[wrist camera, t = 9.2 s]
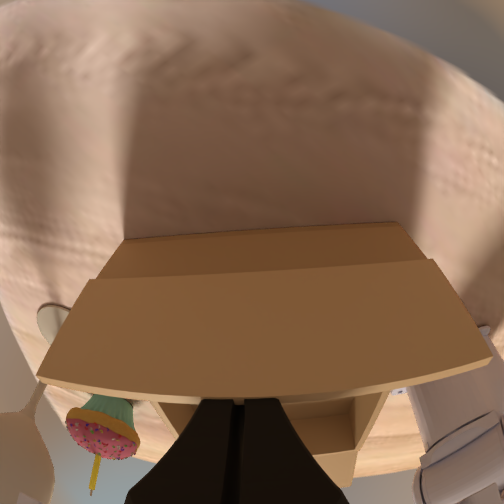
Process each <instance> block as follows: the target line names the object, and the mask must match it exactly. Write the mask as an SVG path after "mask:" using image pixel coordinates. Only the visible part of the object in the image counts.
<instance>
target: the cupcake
mask: <svg viewBox="0 0 504 504" xmlns="http://www.w3.org/2000/svg"><path fill="white" fill-rule="evenodd" d="M65 423H66V424H67V426H66V427H67V430H69V432H70V434H71V436H72V437H73V439H74V440H75V441H76V442H77V443H78V445H80V446H81V447H83V448H85V449H86V450H88V451H89V452H92V453H94V454H95V455H96V456H95V460H94V465H93V469H92V475H91V479H90V484H89V489H91V492H90V496H92V490H95V485H96V480H97V474H98V470H99V466H100V461H101V457H102V458H107V459H113V460H115V459H118V460H120V459H121V460H122V459H124V458H128V457H130V456H131V457H132V455H133V454H134V455H135V454H136V452H137V449H138V447H139V446H140V439H139V437H138V434H137V432H136V431H135V428H134V423H133V408H132V406H131V405H130V403H129V402H127V401H126V400H125V399H123V398H119V397H112V396H105V395H99V394H94V395H93V396H92V397H91V399H90V400H89V401H88V402H87V403H86V404H85V405H84V406H82V407H81V408H78V407H75V408H72V409H71V410H70V411H69V412H68V414H67V416H66V421H65Z"/></svg>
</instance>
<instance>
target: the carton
mask: <svg viewBox="0 0 504 504" xmlns="http://www.w3.org/2000/svg"><path fill="white" fill-rule="evenodd" d="M423 259H427V258H426V256H425V255H424V254H423V252H422V251H421V250H420V249H419V247H418V246H417V245H416V244H415V243H414V241H413V240H412V239H411V238H410V236H409V235H408V234H407V233H406V232H405V230H404V229H403V228H402V227H401V226H400V225H399V223H398V222H383V223H361V224H341V225H322V226H304V227H287V228H271V229H256V230H241V231H227V232H213V233H200V234H187V235H175V236H163V237H151V238H139V239H128V240H123V242H122V243H121V244H120V246H119V247H118V248H117V250H116V251H115V252H114V254H113V255H112V256H111V258H110V259H109V261H108V262H107V263H106V265H105V266H104V268H103V269H102V270H101V272H100V273H99V275H98V276H97V278H96V279H115V278H141V277H164V276H186V275H206V274H225V273H243V272H260V271H276V270H292V269H307V268H321V267H336V266H349V265H362V264H375V263H388V262H400V261H412V260H423ZM389 392H390V390H389V391H383V392H378V393H372V394H366V395H359V396H352V397H345V398H337V399H329V400H320V401H309V402H297V403H283V404H281V405H282V407H283V409H284V411H285V413H286V415H287V417H288V419H289V420H290V422H291V424H292V426H293V427H294V429H295V431H296V432H297V434H298V435H299V437H300V439H301V440H302V442H303V443H304V445H305V446H306V447H307V449H308V450H309V452H310V453H311V454H312V456H313V457H318V456H327V455H334V454H342V453H348V452H354V451H360V449H361V447H362V446H363V444H364V442H365V440H366V438H367V437H368V435H369V433H370V431H371V429H372V427H373V425H374V423H375V421H376V419H377V417H378V415H379V413H380V411H381V409H382V407H383V405H384V403H385V401H386V399H387V397H388V395H389ZM150 402H151V404H152V405H153V407H154V409H155V410H156V412H157V413H158V415H159V416H160V418H161V419H162V421H163V422H164V424H165V425H166V427H167V428H168V429H169V431H170V432H171V434H172V435H173V437H174V438H175V439H176V440H177V438H178V437H179V436H180V434H181V433H182V431H183V430H184V428H185V427H186V425H187V424H188V422H189V421H190V419H191V417H192V416H193V414H194V412H195V411H196V409H197V407H198V405H199V404H181V403H166V402H155V401H150Z"/></svg>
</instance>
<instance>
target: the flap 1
mask: <svg viewBox="0 0 504 504" xmlns="http://www.w3.org/2000/svg"><path fill="white" fill-rule="evenodd" d="M492 358H493V354H492V352H491V350H490V349H489V347H488V345H487V343H486V341H485V339H484V338H483V336H482V334H481V332H480V331H479V329H478V327H477V326H476V324H475V322H474V320H473V319H472V317H471V315H470V314H469V312H468V311H467V309H466V307H465V306H464V304H463V303H462V301H461V299H460V298H459V296H458V295H457V293H456V292H455V290H454V289H453V287H452V286H451V284H450V283H449V281H448V280H447V278H446V277H445V275H444V274H443V272H442V271H441V270H440V268H439V267H438V265H437V264H436V262H435V261H434V260H433V259H423V260H412V261H400V262H388V263H375V264H362V265H349V266H336V267H321V268H307V269H292V270H276V271H260V272H243V273H225V274H206V275H186V276H164V277H141V278H115V279H89V281H88V282H87V284H86V286H85V287H84V289H83V290H82V292H81V294H80V295H79V297H78V299H77V300H76V302H75V304H74V305H73V307H72V309H71V310H70V312H69V314H68V315H67V317H66V319H65V321H64V322H63V324H62V326H61V328H60V330H59V331H58V333H57V335H56V337H55V339H54V340H53V342H52V344H51V346H50V348H49V350H48V352H47V354H46V356H45V358H44V360H43V362H42V364H41V366H40V368H39V370H38V372H37V374H36V376H37V377H38V379H39V380H40V381H41V382H42V383H45V384H49V385H53V386H57V387H62V388H67V389H72V390H77V391H82V392H87V393H93V394H99V395H105V396H112V397H119V398H127V399H135V400H144V401H155V402H166V403H181V404H199V403H200V401H201V400H203V399H233V400H234V404H235V405H245V404H244V399H258V398H277V399H279V401H280V403H281V404H283V403H297V402H309V401H320V400H329V399H337V398H345V397H352V396H359V395H366V394H372V393H378V392H383V391H389V390H394V389H399V388H404V387H408V386H413V385H417V384H422V383H426V382H430V381H434V380H438V379H442V378H446V377H449V376H453V375H456V374H460V373H463V372H467V371H470V370H473V369H476V368H479V367H482V366H485V365H488V364H489V362H490V361H491V359H492Z"/></svg>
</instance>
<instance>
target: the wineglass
mask: <svg viewBox="0 0 504 504" xmlns="http://www.w3.org/2000/svg"><path fill="white" fill-rule="evenodd" d="M69 312H70V310H68V309H66V308H63V307H60V306H56V305H47V306H44V307H42V309H41V310H40V311H39V312H38V315H37V324H38V327H39V330H40V332H41V333H42V335H43V337H44V338H45V339H46V341H47V342H48V343H49V344H50V345H51V344H52V342H53V340H54V339H55V337H56V335H57V333H58V331H59V330H60V328H61V326H62V324H63V322H64V321H65V319H66V317H67V315H68V314H69ZM46 386H47V384H45V383H42V382H41V381H39V383H38V385H37V387H36V389H35V391H34V393H33V395H32V397H31V399H30V401H29V402H28V404H27V405H26V406H25V408H24V409H22V410H21V411H19V412H7V413H0V504H17V500H18V496H19V493H20V492H22V493H23V494H25V495H27V496H29V497H31V498H34V499H36V500H38V501H40V502H42V503H44V504H50V502H51V498H52V494H53V490H54V483H55V476H54V467H53V464H52V461H51V459H50V455H49V452H48V450H47V448H46V446H45V444H44V441H43V439H42V437H41V435H40V433H39V431H38V429H37V426H36V424H35V417H34V415H35V411H36V407H37V404H38V402H39V400H40V398H41V396H42V394H43V392H44V390H45V388H46Z"/></svg>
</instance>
